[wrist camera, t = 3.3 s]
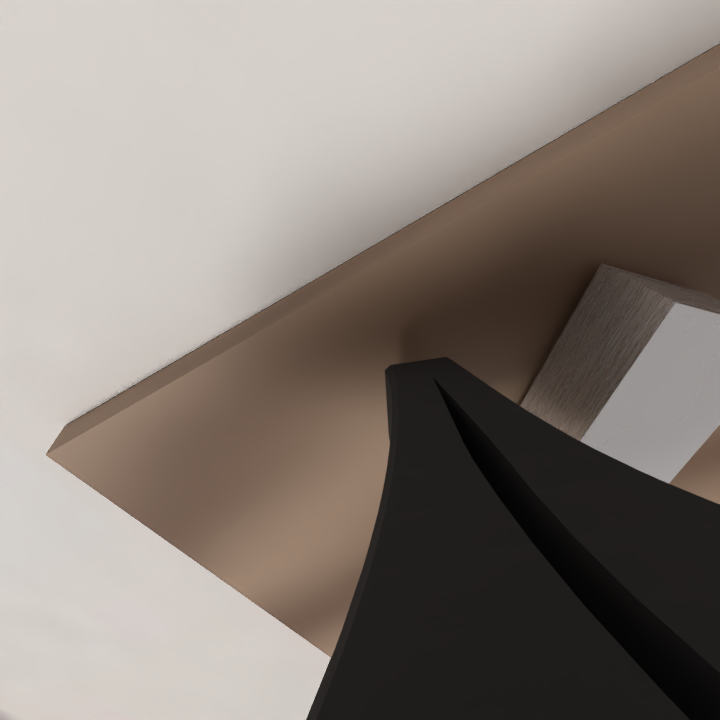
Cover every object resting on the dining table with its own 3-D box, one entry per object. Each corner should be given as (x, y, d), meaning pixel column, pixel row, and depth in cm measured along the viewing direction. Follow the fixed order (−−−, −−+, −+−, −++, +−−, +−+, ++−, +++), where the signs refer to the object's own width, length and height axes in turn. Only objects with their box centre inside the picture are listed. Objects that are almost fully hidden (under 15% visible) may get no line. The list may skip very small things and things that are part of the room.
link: (445, 674, 18) (462, 734, 16) (352, 676, 17) (360, 742, 15) (723, 298, 10) (815, 340, 8) (582, 257, 9) (652, 296, 7)
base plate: (827, 513, 18) (853, 533, 17) (405, 689, 21) (410, 714, 20) (925, -76, 8) (1002, -97, 7) (64, 426, 11) (45, 454, 10)
